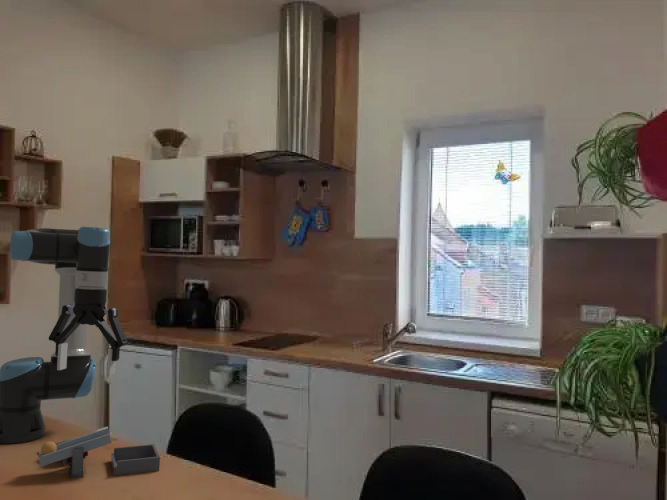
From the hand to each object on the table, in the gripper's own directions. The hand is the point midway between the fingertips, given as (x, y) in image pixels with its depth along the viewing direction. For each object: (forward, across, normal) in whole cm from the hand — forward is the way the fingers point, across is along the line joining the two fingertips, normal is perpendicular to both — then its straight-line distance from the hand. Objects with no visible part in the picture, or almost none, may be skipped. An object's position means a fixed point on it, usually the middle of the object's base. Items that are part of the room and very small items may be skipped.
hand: (86, 371), depth 142 cm
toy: (+28, -13, +12) cm, 33 cm away
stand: (+27, -3, +3) cm, 27 cm away
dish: (+27, +9, +11) cm, 30 cm away
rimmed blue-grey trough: (+22, -5, +5) cm, 23 cm away
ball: (+20, -9, 0) cm, 22 cm away
